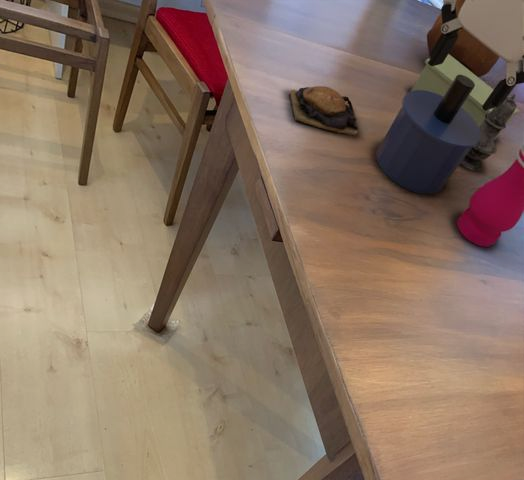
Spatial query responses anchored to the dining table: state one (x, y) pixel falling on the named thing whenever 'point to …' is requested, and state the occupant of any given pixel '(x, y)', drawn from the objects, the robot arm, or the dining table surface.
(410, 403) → the dining table surface
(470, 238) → the pepper mill
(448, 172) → the pot
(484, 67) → the butternut squash
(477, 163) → the grey knobbly column
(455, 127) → the lid
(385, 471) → the dining table surface
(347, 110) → the pastry on board
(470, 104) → the pale green block
